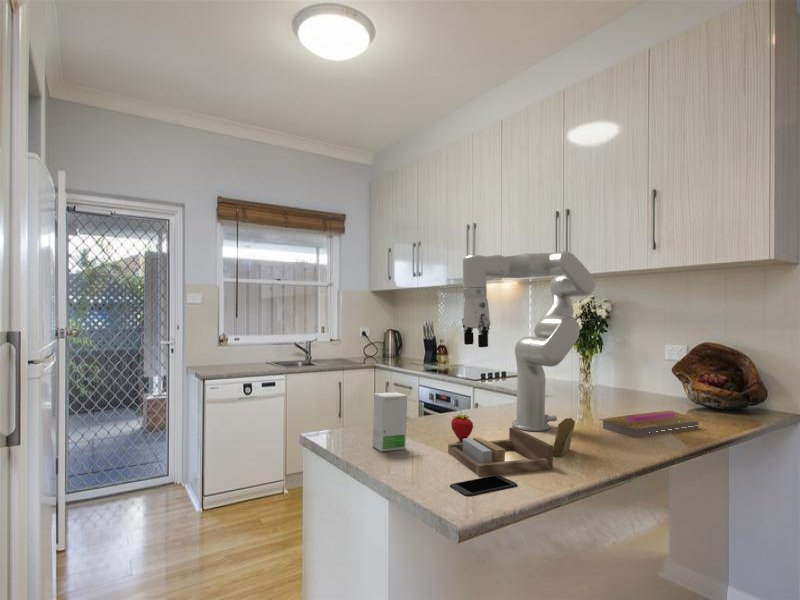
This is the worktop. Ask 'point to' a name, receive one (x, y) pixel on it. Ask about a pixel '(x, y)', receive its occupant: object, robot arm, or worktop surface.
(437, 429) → the worktop surface
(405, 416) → the skincare box
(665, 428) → the brown slab
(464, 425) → the strawberry
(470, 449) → the outer offcut board
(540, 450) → the rack
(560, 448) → the rock
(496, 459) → the inner offcut board
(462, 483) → the smartphone
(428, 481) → the worktop surface
